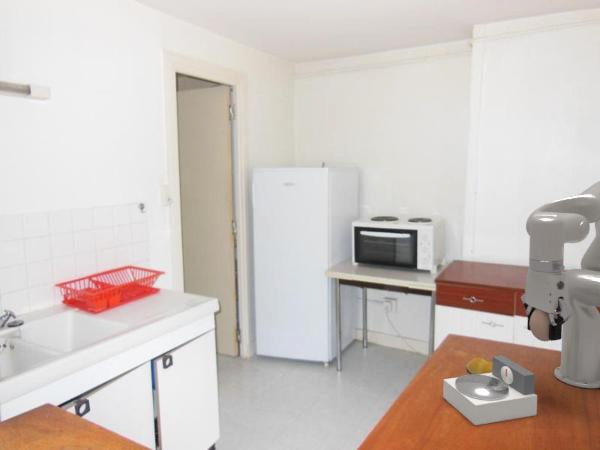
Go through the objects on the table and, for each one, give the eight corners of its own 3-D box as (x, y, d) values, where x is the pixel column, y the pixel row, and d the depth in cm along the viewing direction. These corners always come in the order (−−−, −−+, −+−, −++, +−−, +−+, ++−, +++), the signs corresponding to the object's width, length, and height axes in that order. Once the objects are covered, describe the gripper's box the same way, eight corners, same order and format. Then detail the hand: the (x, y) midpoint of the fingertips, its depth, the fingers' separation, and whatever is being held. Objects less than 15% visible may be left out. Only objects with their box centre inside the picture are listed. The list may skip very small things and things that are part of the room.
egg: (550, 335, 118) (552, 301, 117) (563, 345, 112) (565, 309, 111) (524, 336, 119) (525, 302, 118) (535, 345, 112) (536, 310, 111)
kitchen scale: (499, 388, 124) (500, 353, 123) (536, 414, 111) (538, 375, 110) (443, 397, 120) (443, 361, 119) (475, 425, 107) (475, 385, 106)
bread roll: (492, 382, 129) (492, 369, 128) (463, 372, 135) (463, 359, 135) (505, 373, 134) (506, 360, 134) (477, 364, 141) (477, 352, 140)
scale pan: (487, 374, 122) (487, 371, 122) (520, 396, 110) (520, 393, 110) (445, 380, 119) (445, 377, 119) (474, 403, 107) (474, 400, 107)
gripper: (587, 271, 105) (584, 345, 107) (533, 258, 122) (531, 322, 124) (560, 274, 104) (558, 349, 106) (509, 260, 120) (508, 325, 123)
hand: (543, 334), depth 115 cm, fingers closed on egg, 6 cm apart
